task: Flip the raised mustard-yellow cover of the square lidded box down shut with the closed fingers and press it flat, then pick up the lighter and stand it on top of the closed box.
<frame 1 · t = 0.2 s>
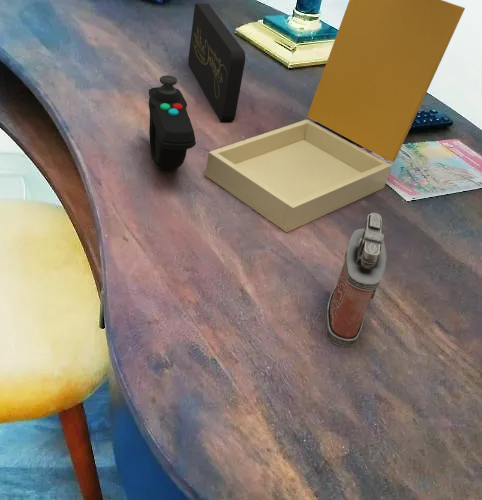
lighter: (343, 318, 61), on the table
square lidded box: (295, 181, 79), on the table
controller: (165, 168, 80), on the table
cover: (377, 68, 77), point 13 cm above the table, hinge at 100.0°
nameplate: (208, 92, 98), on the table
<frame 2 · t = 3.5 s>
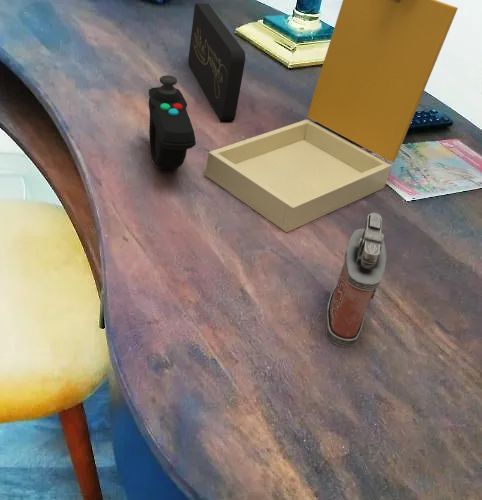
hand: (399, 46, 77), 15 cm above the table, tool pointing down, fingers closed
cover: (373, 68, 76), point 13 cm above the table, hinge at 95.1°
everything else where it was.
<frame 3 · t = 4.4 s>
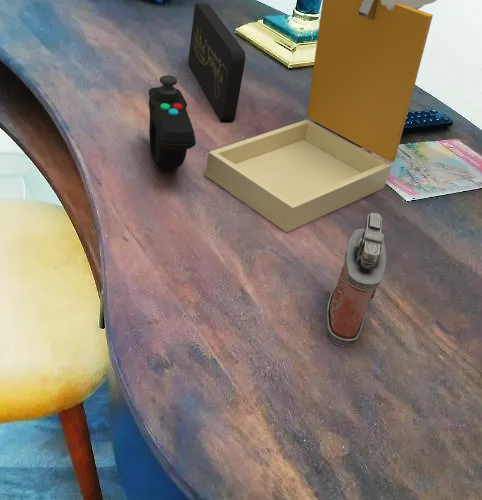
hand: (375, 62, 76), 13 cm above the table, tool pointing down, fingers closed
cover: (361, 72, 75), point 13 cm above the table, hinge at 80.7°, touching gripper
everything else where it was.
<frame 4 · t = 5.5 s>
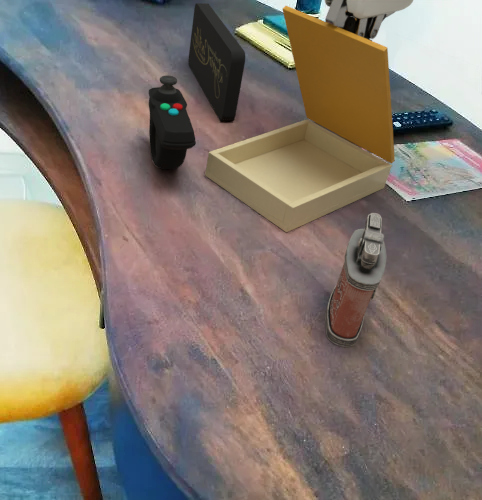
hand: (346, 71, 73), 13 cm above the table, tool pointing down, fingers closed
cover: (340, 87, 74), point 11 cm above the table, hinge at 58.9°, touching gripper
everything else where it was.
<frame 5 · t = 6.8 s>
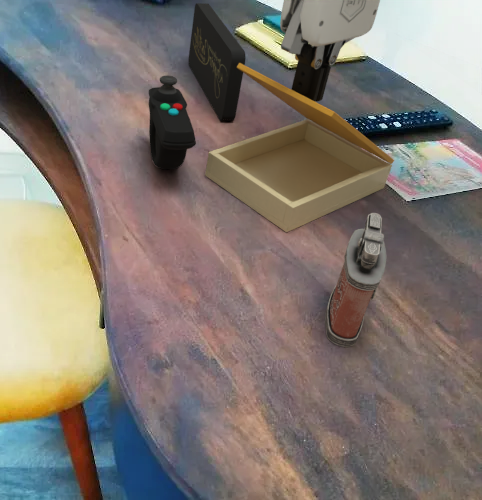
hand: (306, 97, 71), 12 cm above the table, tool pointing down, fingers closed
cover: (318, 115, 74), point 9 cm above the table, hinge at 33.3°, touching gripper
everything else where it was.
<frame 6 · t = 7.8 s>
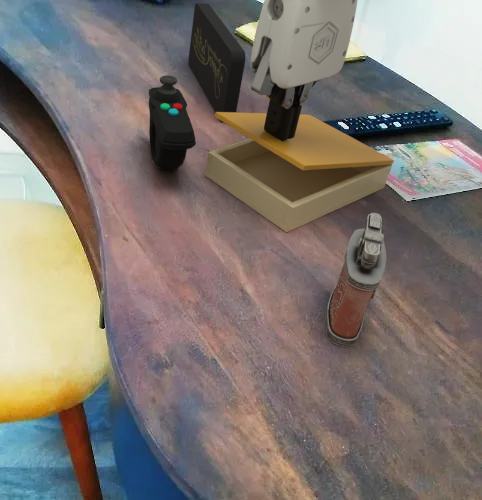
hand: (278, 134, 72), 8 cm above the table, tool pointing down, fingers closed
cover: (306, 138, 76), point 6 cm above the table, hinge at 14.5°
everything else where it was.
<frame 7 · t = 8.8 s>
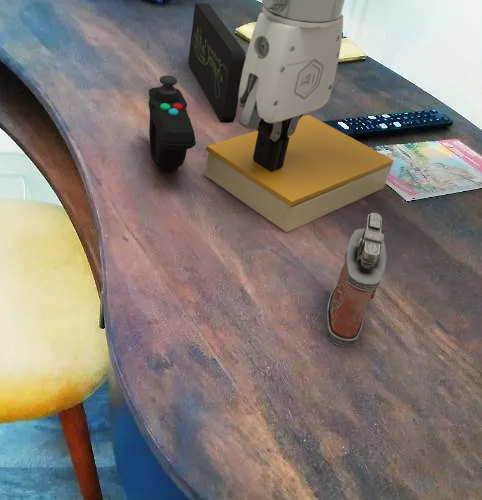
hand: (267, 164, 73), 4 cm above the table, tool pointing down, fingers closed
cover: (300, 155, 77), point 4 cm above the table, hinge at 1.0°, touching gripper
everything else where it was.
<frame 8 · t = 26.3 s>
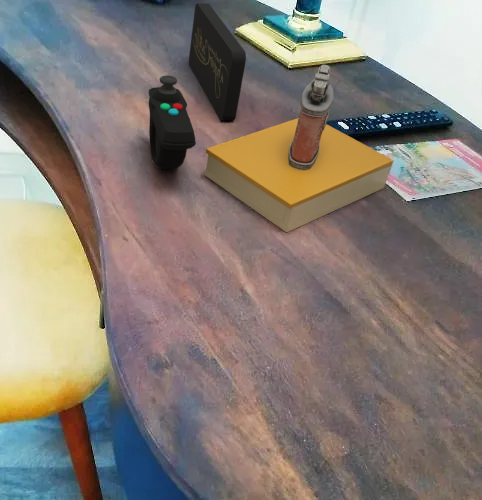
lighter: (302, 155, 77), point 4 cm above the table, touching cover
cover: (300, 156, 77), point 4 cm above the table, hinge at -0.1°, touching lighter
everything else where it was.
at the end: cover at +0° (first picture: +100°); lighter inside the target area on the square lidded box (0.1 cm from its centre), point 3.7 cm above the square lidded box's base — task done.
